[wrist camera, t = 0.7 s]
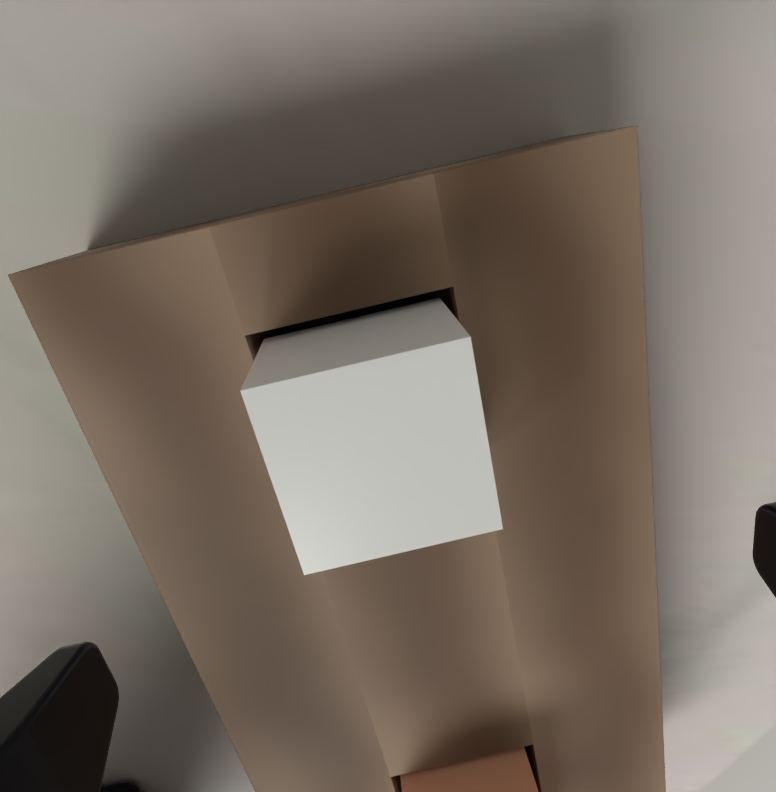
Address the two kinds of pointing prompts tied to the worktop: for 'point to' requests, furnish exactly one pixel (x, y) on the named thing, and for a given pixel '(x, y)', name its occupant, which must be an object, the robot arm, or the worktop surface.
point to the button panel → (421, 568)
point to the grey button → (374, 435)
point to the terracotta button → (476, 775)
